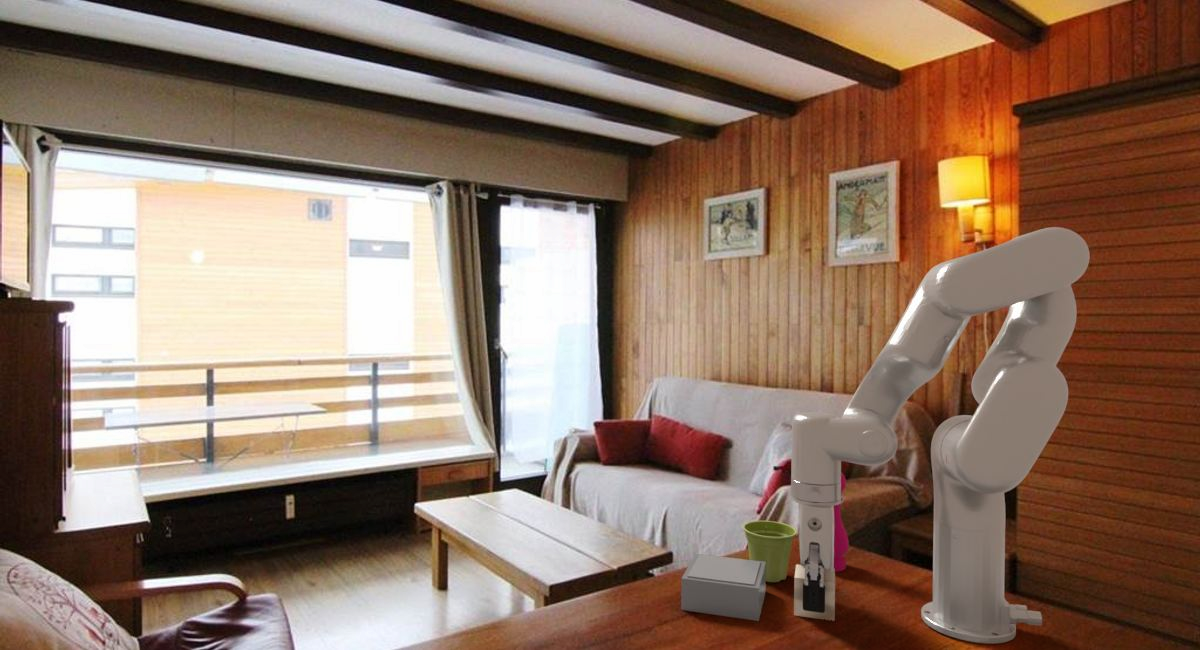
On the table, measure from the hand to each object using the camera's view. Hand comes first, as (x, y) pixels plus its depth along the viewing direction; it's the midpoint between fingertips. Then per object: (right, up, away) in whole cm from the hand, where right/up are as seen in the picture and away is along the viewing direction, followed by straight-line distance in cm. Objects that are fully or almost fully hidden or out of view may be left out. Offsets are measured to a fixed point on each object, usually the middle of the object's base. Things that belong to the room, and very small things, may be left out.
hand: (814, 598), depth 108 cm
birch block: (0, -2, 0) cm, 2 cm away
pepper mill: (+9, -2, +19) cm, 21 cm away
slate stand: (-14, -2, +4) cm, 14 cm away
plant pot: (-4, -2, +14) cm, 15 cm away
